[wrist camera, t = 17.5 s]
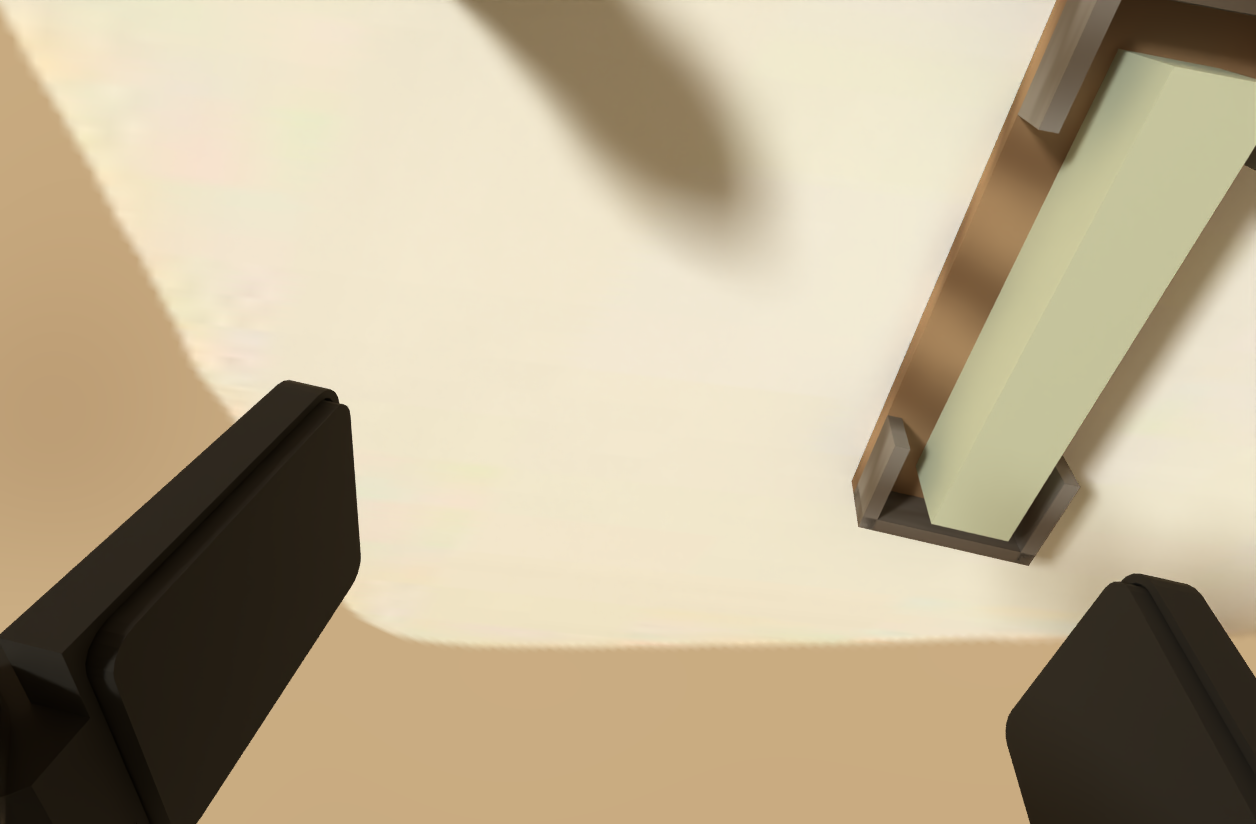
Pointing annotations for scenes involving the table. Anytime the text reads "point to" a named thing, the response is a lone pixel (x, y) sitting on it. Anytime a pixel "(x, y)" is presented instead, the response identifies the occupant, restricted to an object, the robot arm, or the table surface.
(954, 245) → the cradle
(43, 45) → the table surface
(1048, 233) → the slat
